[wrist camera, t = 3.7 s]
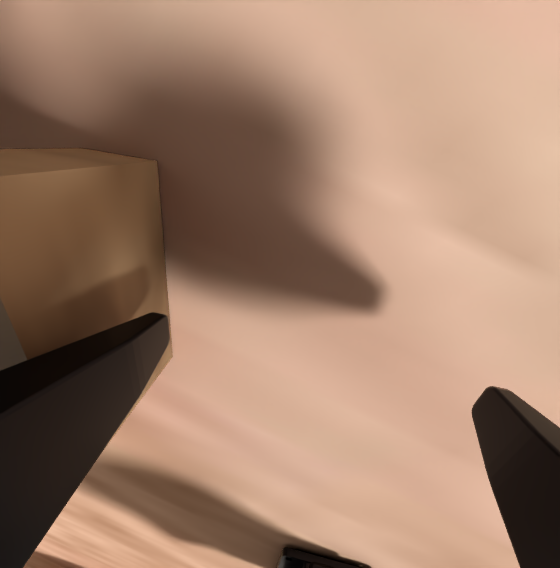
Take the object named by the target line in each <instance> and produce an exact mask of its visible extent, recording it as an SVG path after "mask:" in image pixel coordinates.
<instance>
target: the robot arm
mask: <svg viewBox="0 0 560 568" xmlns="http://www.w3.org/2000/svg"><path fill="white" fill-rule="evenodd" d="M169 341H170V332H169V320H168V317H167V315H165V314H161V313H156V312H151V313H148V314H145V315H143V316H140V317H138V318H135V319H132V320H130V321H127V322H125V323H122V324H119V325H117V326H114V327H112V328H109V329H106V330H104V331H101V332H99V333H96V334H93V335H91V336H88V337H86V338H83V339H81V340H78V341H75V342H73V343H70V344H68V345H65V346H62V347H60V348H57V349H55V350H52V351H49V352H47V353H44V354H42V355H39V356H36V357H34V358H31V359H29V360H26V361H23V362H21V363H18V364H16V365H13V366H10V367H8V368H5V369H3V370H0V568H23V567H24V565H25V564H26V562H27V561H28V559H29V558H30V557H31V555H32V554H33V552H34V551H35V549H36V548H37V546H38V545H39V543H40V542H41V540H42V539H43V537H44V536H45V535H46V533H47V532H48V530H49V529H50V527H51V526H52V524H53V523H54V521H55V520H56V518H57V517H58V516H59V514H60V513H61V511H62V510H63V508H64V507H65V505H66V504H67V502H68V501H69V499H70V498H71V497H72V495H73V494H74V492H75V491H76V489H77V488H78V486H79V485H80V483H81V482H82V480H83V479H84V478H85V476H86V475H87V473H88V472H89V470H90V469H91V467H92V466H93V464H94V463H95V461H96V460H97V458H98V457H99V456H100V454H101V453H102V451H103V450H104V448H105V447H106V445H107V444H108V442H109V441H110V439H111V438H112V437H113V435H114V434H115V432H116V431H117V429H118V428H119V426H120V425H121V423H122V422H123V420H124V419H125V418H126V416H127V415H128V413H129V412H130V410H131V409H132V407H133V406H134V404H135V403H136V401H137V400H138V398H139V397H140V395H141V394H142V392H143V390H144V389H145V387H146V385H147V383H148V381H149V380H150V378H151V376H152V374H153V372H154V370H155V368H156V367H157V365H158V363H159V361H160V359H161V357H162V356H163V354H164V352H165V350H166V348H167V346H168V344H169ZM472 418H473V421H474V425H475V429H476V433H477V437H478V441H479V445H480V448H481V452H482V456H483V460H484V464H485V468H486V471H487V475H488V478H489V481H490V484H491V487H492V490H493V493H494V496H495V499H496V502H497V504H498V507H499V510H500V513H501V515H502V518H503V521H504V524H505V527H506V529H507V532H508V535H509V538H510V540H511V543H512V546H513V549H514V552H515V554H516V557H517V560H518V563H519V565H520V568H560V428H559V427H558V426H557V425H555V424H554V423H553V422H551V421H550V420H549V419H547V418H546V417H545V416H543V415H542V414H541V413H539V412H538V411H537V410H535V409H534V408H533V407H531V406H530V405H529V404H527V403H526V402H525V401H523V400H522V399H521V398H519V397H518V396H517V395H515V394H514V393H513V392H511V391H510V390H507V389H504V388H499V387H494V386H490V387H488V388H486V389H485V390H484V392H483V393H482V394H481V396H480V397H479V398H478V400H477V401H476V402H475V404H474V405H473V408H472ZM277 568H359V567H356V566H352V565H348V564H345V563H341V562H337V561H334V560H330V559H326V558H323V557H319V556H316V555H312V554H308V553H305V552H301V551H297V550H294V549H290V548H284V549H283V550H282V553H281V556H280V559H279V562H278V565H277Z"/></svg>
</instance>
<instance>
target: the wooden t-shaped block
mask: <svg viewBox="0 0 560 568" xmlns="http://www.w3.org/2000/svg"><path fill="white" fill-rule="evenodd" d="M151 312H156V313H161V314H165V315H167V317H168V320H169V332H170V341H169V344H168V346H167V348H166V350H165V352H164V354H163V356H162V357H161V359H160V361H159V363H158V365H157V367H156V368H155V370H154V372H153V374H152V376H151V378H150V380H149V381H148V383H147V385H146V387H145V389H144V390H143V392H142V394H141V395H140V397H139V398H138V400H137V401H136V403H135V404H134V406H133V407H132V409H131V410H130V412H129V413H128V415H127V416H126V418H125V419H124V420H123V422H122V423H121V425H120V426H119V428H120V427H121V426H122V424H123V423H124V422H125V420H126V419H127V417H128V416H129V415H130V413H131V412H132V411H133V409H134V408H135V407H136V405H137V404H138V403H139V401H140V400H141V399H142V397H143V396H144V395H145V393H146V392H147V390H148V389H149V388H150V386H151V385H152V384H153V382H154V381H155V380H156V378H157V377H158V376H159V374H160V373H161V372H162V370H163V369H164V368H165V366H166V365H167V364H168V362H169V361H170V359H171V358H172V357H173V356H172V343H171V330H170V318H169V305H168V292H167V280H166V267H165V254H164V241H163V229H162V216H161V203H160V191H159V178H158V165H157V161H154V160H148V159H142V158H137V157H131V156H125V155H119V154H113V153H107V152H102V151H96V150H90V149H84V148H43V149H0V370H3V369H5V368H8V367H10V366H13V365H16V364H18V363H21V362H23V361H26V360H29V359H31V358H34V357H36V356H39V355H42V354H44V353H47V352H49V351H52V350H55V349H57V348H60V347H62V346H65V345H68V344H70V343H73V342H75V341H78V340H81V339H83V338H86V337H88V336H91V335H93V334H96V333H99V332H101V331H104V330H106V329H109V328H112V327H114V326H117V325H119V324H122V323H125V322H127V321H130V320H132V319H135V318H138V317H140V316H143V315H145V314H148V313H151ZM119 428H118V429H117V431H118V430H119ZM117 431H116V432H117ZM116 432H115V434H116ZM115 434H114V435H115ZM114 435H113V436H114ZM112 438H113V437H112ZM112 438H111V439H112ZM111 439H110V440H111ZM109 442H110V441H109ZM109 442H108V443H109ZM106 446H107V445H106ZM104 449H105V448H104Z"/></svg>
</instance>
